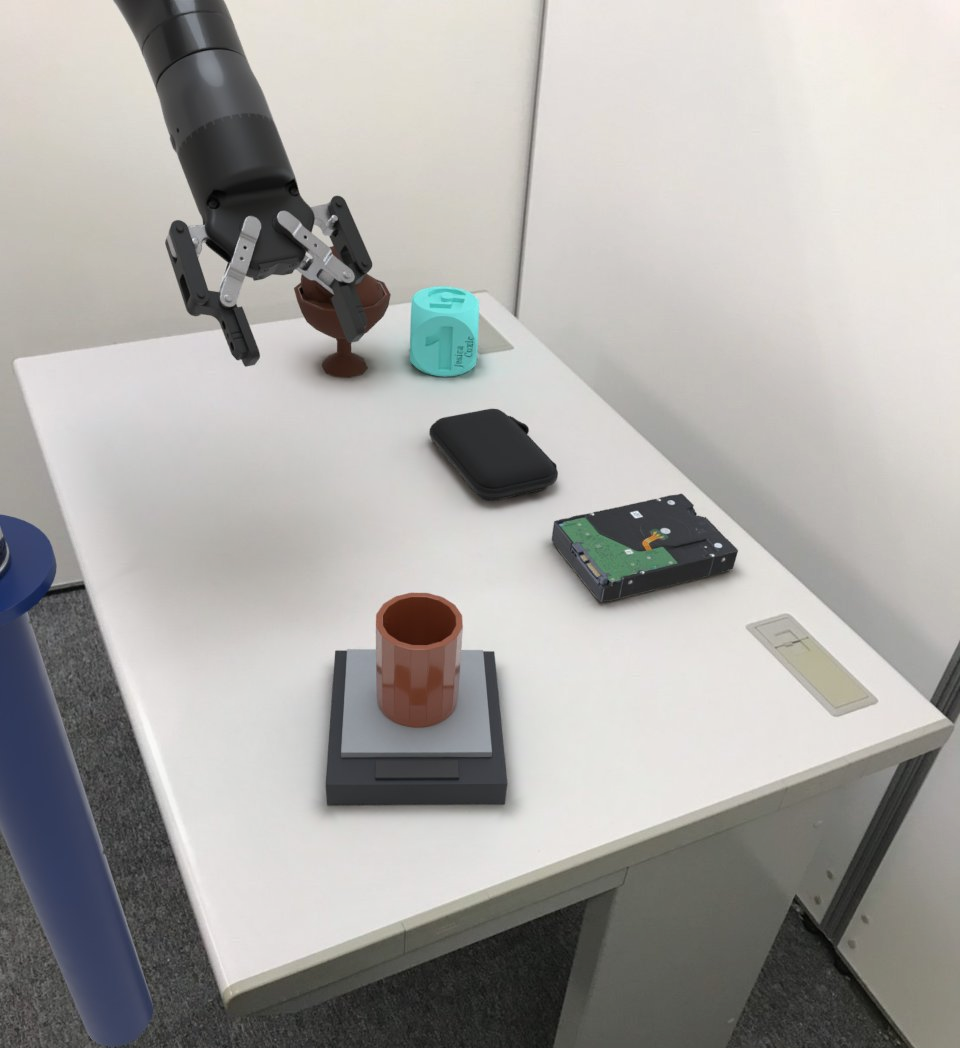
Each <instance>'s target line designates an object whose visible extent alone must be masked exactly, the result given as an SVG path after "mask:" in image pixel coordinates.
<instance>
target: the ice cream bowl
mask: <svg viewBox="0 0 960 1048" xmlns="http://www.w3.org/2000/svg"><path fill="white" fill-rule="evenodd" d="M328 247H329V248H330V249H331V250H332V254H333V255H334V256H335V257H336V258H337V259H339V257H338V255H337V253H336V250H335V248H334V246H333V245H332V246H328ZM311 259H313V258H311ZM355 287H356V290H357V293H358V296H359V298H360V301H361V304H362V307H363V309H364V312H365V314H366V317H367V326H366V327H365V333H364V335H365V334H367V333H368V332H369V331H370V330H372V329H373V327H374V326H376V324H377V323H379V321H380V320H382V319H383V318H384V316H385V314H386V313H387V310H388V308H389V305H390V301H391V293H390V291H389V288H388V287H387V285H386V283H385V282H384V281H382V280H379V279H377V278H375V277H373V276H372V275H370V274H368V273H367V274H366V275H365V276H364V278H363V280H362V281H361V282H360V283H359V284H355ZM293 290H294V295H295V298H296V301H297V304H298V307H299V309H300V312H301V314H302V316H303V318H304V320H305V321H306V323H308V324H309V325H310V326H311V327H312V328H313V329H315V330H316V331H318V332H320V333H322V334H323V335H326V336H328V337H330V338H332V339H335V340H336V352H333V353H331V354H329V355H327V356H326V358H324V360H322V364H321V367H322V369H323V372H324V373H326V374H328V375H331V376H332V377H334V378H335V377H336V378H355V377H357V376H361V375H363V374H364V373H365V372H366V371H367V370H368V365H367V362H366V360H365V357H363V356H361V355H359V354H356V353H354V352H353V351H352V343H348V341H347V340H346V337H345V334H344V332H343V329H342V327H341V324H340V321H339V319H338V316H337V313H336V311H335V308H334V305H333V303H332V300H331V299H332V297H333V296H334V294H332V293H331V292H330V291H328V290H327V289H326V288H325V287H323V286H322V285H321V284H319V283H318V282H317V281H315V280H309V279H308V278H306V277H305V276H304V275H302V274H301V275H300V282H299V283H298V284H297V285H295V286H294V287H293Z"/></svg>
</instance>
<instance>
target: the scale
mask: <svg viewBox="0 0 960 1048" xmlns="http://www.w3.org/2000/svg"><path fill="white" fill-rule="evenodd" d="M496 663H497V662H496V654H495V650H494V651H489V650H487V651H486V650H483V649H461V662H460V677H459V692H458V699H457V705H456V708H455V710H454V711H453V713H452V714H451V715H450V716H449V717H448V718H447V719H445V720H444V721H442V722H440V723H438V724H435V725H432V726H428V727H419V728H416V727H407V726H403V725H400V724H397V723H395V722H393V721H391V720H390V719H388V718H387V717H386V716H385V715H384V714H383V713H382V712H381V710H380V709H379V706H378V703H377V696H376V648H370V649H368V648H365V649H364V648H348V649H345V650H341V649H339V650H337V649H336V650H335V651H334V662H333V674H332V675H333V676H332V688H331V703H330V715H329V716H330V717H329V718H330V719H329V730H328V732H329V733H328V745H327V757H326V758H327V759H326V760H327V761H326V771H325V796H326V806H329V807H330V806H334V807H335V806H449V805H450V806H452V805H453V806H457V805H460V806H461V805H465V806H466V805H469V806H470V805H474V806H475V805H478V806H479V805H506V799H507V791H508V774H507V765H506V764H507V763H506V754H505V753H506V752H505V744H504V733H503V724H502V716H501V715H502V713H501V703H500V695H499V694H500V693H499V684H498V675H497V674H498V672H497V664H496Z"/></svg>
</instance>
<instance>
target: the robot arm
mask: <svg viewBox="0 0 960 1048" xmlns="http://www.w3.org/2000/svg"><path fill="white" fill-rule="evenodd" d="M112 2H113V4H115V6H116V8H117V10H118V11H119V13H120V14H121V16H122V17H123V19H124V21H125V22H126V24H127V26H128V28H129V31H130V32H131V33H132V36H133V37H134V39H135V41H136V43H137V46H138V48H139V50H140V53H141V55H142V58H143V61H144V63H145V67H146V69H147V71H148V73H149V76H150V78H151V82H152V83H153V84H152V85H153V87H154V89H155V92H156V94H157V98H158V101H159V104H160V109H161V113H162V116H163V117H162V118H163V120H164V124H165V127H166V130H167V133H168V135H169V141H170V144H171V147H172V150H174V152H175V154H176V156H177V159H178V162H179V164H180V167H181V169H182V171H183V174H184V178H185V179H186V183H187V185H188V187H189V190H190V193H191V195H192V198H193V200H194V203H195V205H196V208H197V211H198V213H199V215H200V216H201V220H202V224H196V225H195V224H194V225H188V224H187V223H186V222H185V221H183V220H181V219H176V220H173V221H172V222H171V224H170V227H169V230H168V232H167V235H166V238H165V241H164V244H165V249H166V251H167V254H168V257H169V260H170V264H171V267H172V270H173V273H174V275H175V279H176V282H177V285H178V288H179V291H180V295H181V298H182V300H183V304H184V306H185V310H186V312H187V313H188V314H189V315H190V316H192V317H199V316H201V315H203V316H204V315H205V316H211V317H212V318H214V319H216V320H217V322H218V323H219V326H220V328H221V330H222V333H223V335H224V338H225V340H226V343H227V346H228V348H229V352H230V354H231V356H232V357H233V358H234V359H235V361H241V362H242V364H243V366H244V367H246V368H247V367H251V366H255V365H256V364H257V363H258V362H259V360H260V358H261V353H260V349H259V347H258V344H257V342H256V339H255V337H254V334H253V331H252V328H251V326H250V323H249V321H248V318H247V315H246V313H245V310H244V308H243V306H238V304H237V303H238V299H239V296H240V293H241V290H242V286H243V283H244V280H245V279H246V277H247V278H250V279H252V280H253V282H256V281H261V280H264V279H266V278H268V277H270V276H287V275H291V274H293V273H294V271H295V270H296V271H297V272H298V273H300V274H301V275H304V276H305V277H306V278H308V279H309V280H315V281H317V282H318V283H319V284H321V285H322V286H323V287H325V288H326V289H327V290H328V291H330V292H331V293H332V294H334V296H333V297H332V299H331V300H332V303H333V305H334V308H335V311H336V313H337V316H338V319H339V321H340V324H341V327H342V329H343V332H344V334H345V337H346V340H347V341H348V343H351V344H352V343H355V342H359V341H360V340H361V339H362V338H363V336H364V335H365V334H366V333H365V327H366V326H367V317H366V314H365V312H364V309H363V307H362V304H361V301H360V298H359V296H358V293H357V290H356V287H355V284H359V283H360V282H361V281H362V280H363V278H364V276H365V275H366V274H368V273H369V272H370V271H371V270H372V268H373V260H372V259H371V256H370V254H369V251H368V250H367V247H366V245H365V242H364V240H363V237H362V235H361V234H360V231H359V229H358V226H357V224H356V222H355V220H354V218H353V215H352V213H351V210H350V208H349V206H348V203H347V201H346V200H345V198H344V197H343V196H341V195H334V196H333V197H332V198H331V199H330V201H329V202H328V203H324V204H320V205H315V206H310V205H309V204H308V202H307V201H305V200H304V198H303V197H302V195H301V193H300V190H299V189H300V188H299V186H298V182H297V177H296V174H295V172H294V169H293V167H292V165H291V161H290V159H289V157H288V154H287V151H286V148H285V146H284V143H283V140H282V138H281V135H280V133H279V132H280V131H278V127H277V125H276V122H275V120H274V117H273V114H272V111H271V108H270V107H269V104H268V100H267V98H266V96H265V94H264V91H263V89H262V87H261V85H260V83H259V81H258V79H257V77H256V76H255V74H254V72H253V69H252V68H251V65H250V63H249V60H248V58H247V54H246V52H245V50H244V47H243V45H242V41H241V40H240V37H239V35H238V31H237V29H236V26H235V23H234V20H233V18H232V15H231V13H230V10H229V8H228V6H227V3H226V1H225V0H112ZM314 226H317V227H318V228H319V229H320V230H321V232H322V235H323V236H328V237H329V239H330V241H331V244H332V246H334V248H335V250H336V253H337V255H338V257H339V259H337V258H336V257H335V256H334V255H333V254H332V250H331V249H330V248H329V247H330V246H328V245H327V244H326V243H325V242H324V241H322V240H321V239H320V238H318V237H317V236H316V235H315V234H314V233H312V232H313V229H314ZM204 244H205V245H206V246H207V247H208V248H209V249H210V250H211V251H212V252H214V253H215V254H216V255H218V256H219V257H220V258H221V259H223V260H224V261H225V262H226V265H225V267H224V268H225V269H224V272H223V274H222V277H221V281H220V284H219V288H218V291H215V290H209V288H208V285H207V282H206V278H205V276H204V272H203V270H202V267H201V263H200V259H199V257H200V255H201V252H202V250H203V245H204ZM307 254H309V256H310V257H309V256H307ZM311 257H312V258H313V259H312V258H311ZM364 333H365V334H364ZM10 563H11V555H10V551H9V548H8V545H7V543H6V541H5V538H4V535H3V533H2V530H1V527H0V579H1V578H2V577H3V576H4V575H5V573H6V572H7V571H8V569H9V566H10Z"/></svg>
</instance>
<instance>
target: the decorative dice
mask: <svg viewBox="0 0 960 1048" xmlns="http://www.w3.org/2000/svg"><path fill="white" fill-rule="evenodd" d="M410 303H411V304H410V308H411V309H410V327H409V329H410V330H409V331H410V332H409V362H410V364H411V365H412V366H413V367H415V369H417V370H418V371H420V372H422V373H424V374H427V375H431V376H434V377H446V378H447V377H456V376H460V375H464V374H467V373H468V372H469V371H471V370H472V369H474V367H476V365H477V360H478V359H477V358H478V346H479V327H480V325H479V324H480V300H479V299H478V298H477V297H476V296H475V294H473V293H472V292H470V291H468V290H466V289H463V288H459V287H454V286H444V285H443V286H442V285H439V286H430V287H425V288H422V289H420V290H418V291H417V292H416V293H414V294H413V295H412V296H411V302H410Z"/></svg>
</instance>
